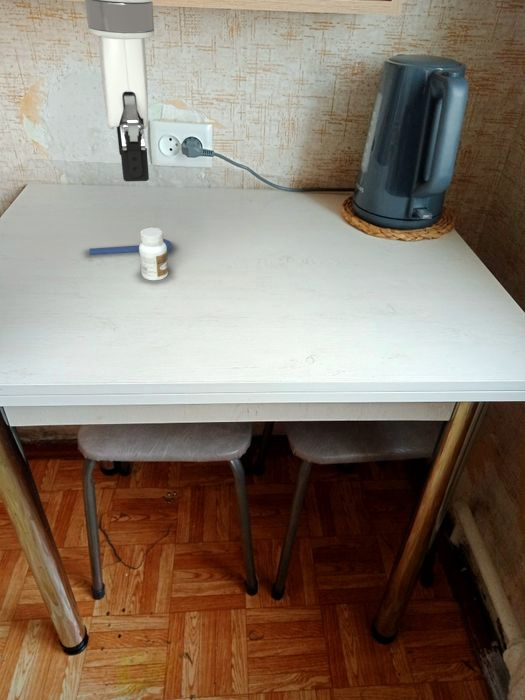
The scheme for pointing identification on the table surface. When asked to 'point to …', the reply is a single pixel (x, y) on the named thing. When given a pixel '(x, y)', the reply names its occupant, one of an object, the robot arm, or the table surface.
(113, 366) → the table surface
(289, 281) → the table surface
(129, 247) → the spoon
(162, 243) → the pill bottle
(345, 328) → the table surface
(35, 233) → the table surface
